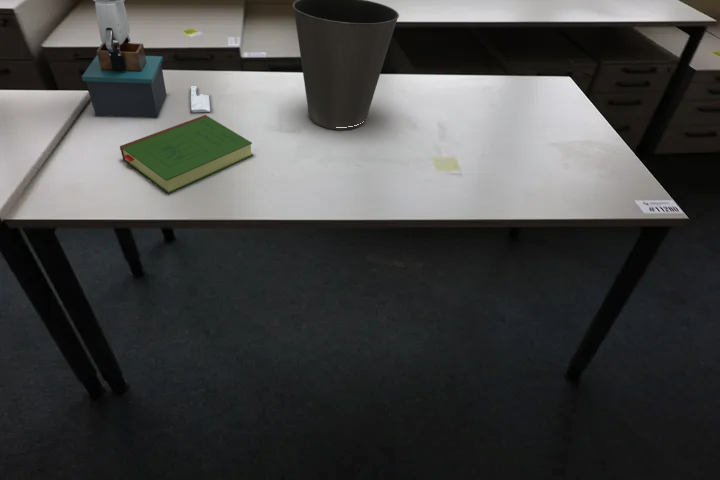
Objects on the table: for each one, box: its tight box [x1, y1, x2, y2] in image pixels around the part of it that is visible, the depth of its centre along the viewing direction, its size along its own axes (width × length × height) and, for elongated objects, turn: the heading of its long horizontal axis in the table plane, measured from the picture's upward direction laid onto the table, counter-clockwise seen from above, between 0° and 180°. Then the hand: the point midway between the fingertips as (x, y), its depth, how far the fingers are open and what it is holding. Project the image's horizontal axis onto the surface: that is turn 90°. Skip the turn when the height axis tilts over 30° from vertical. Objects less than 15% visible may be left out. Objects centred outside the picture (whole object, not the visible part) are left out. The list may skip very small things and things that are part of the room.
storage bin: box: [81, 54, 167, 119], centre depth 141 cm, size 17×15×11 cm
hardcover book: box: [119, 114, 254, 194], centre depth 126 cm, size 25×19×4 cm
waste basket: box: [292, 0, 400, 131], centre depth 140 cm, size 27×20×30 cm
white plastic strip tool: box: [190, 85, 211, 113], centre depth 149 cm, size 5×15×1 cm, turn 14°
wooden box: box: [96, 41, 146, 72], centre depth 135 cm, size 10×6×5 cm, turn 96°
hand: (123, 63), depth 137 cm, fingers open, 7 cm apart
